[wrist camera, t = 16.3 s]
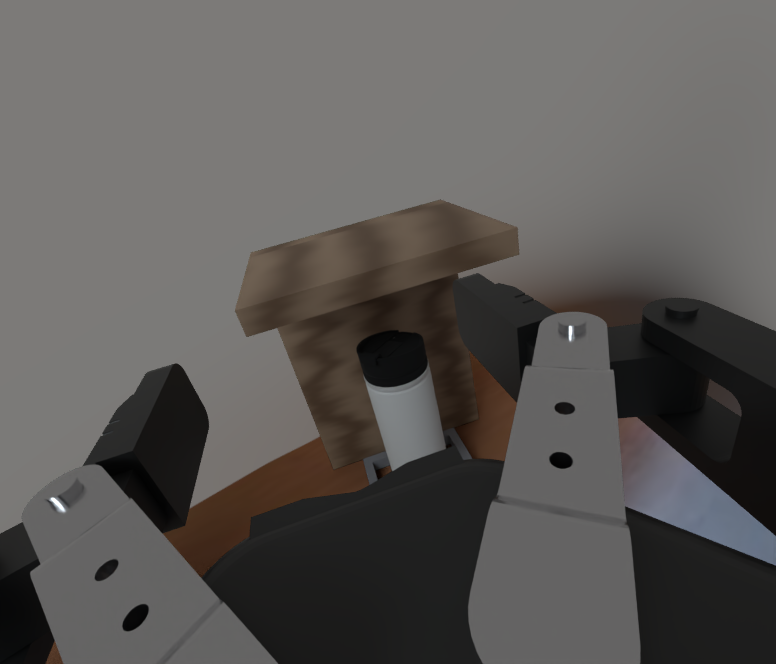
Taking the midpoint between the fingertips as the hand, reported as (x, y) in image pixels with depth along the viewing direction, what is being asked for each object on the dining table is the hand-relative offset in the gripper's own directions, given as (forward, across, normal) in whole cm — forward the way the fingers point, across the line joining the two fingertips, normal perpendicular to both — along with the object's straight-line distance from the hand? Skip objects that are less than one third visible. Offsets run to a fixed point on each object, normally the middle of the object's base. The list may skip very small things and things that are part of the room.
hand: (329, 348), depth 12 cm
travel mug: (+21, -4, +32) cm, 38 cm away
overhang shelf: (+23, -5, +32) cm, 39 cm away
